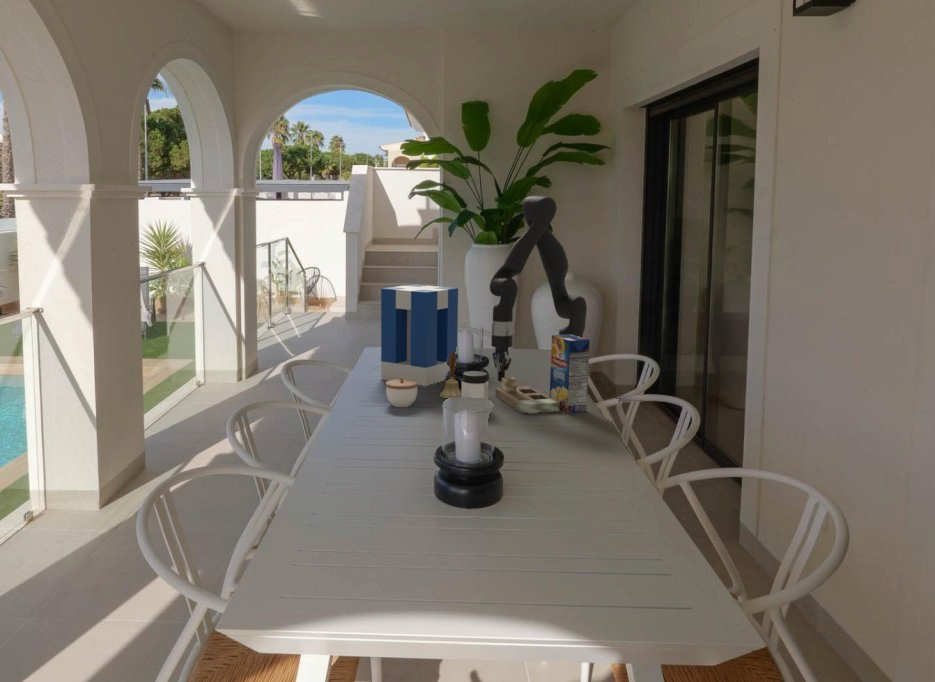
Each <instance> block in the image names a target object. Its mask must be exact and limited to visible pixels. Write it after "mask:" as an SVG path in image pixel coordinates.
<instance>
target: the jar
mask: <svg viewBox="0 0 935 682" xmlns="http://www.w3.org/2000/svg"><path fill="white" fill-rule="evenodd" d="M488 379H489V377H488V373H487V372H485V371H481V370H479V371H478V370H470V371H464V372H463V373H462V381H461V391H460V392H461V397H472V398H484V399H488V400H489V380H488Z"/></svg>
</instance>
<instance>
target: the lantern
mask: <svg viewBox="0 0 935 682" xmlns="http://www.w3.org/2000/svg"><path fill="white" fill-rule="evenodd" d="M380 290H381V291H380V305H381V306H380V309H381V310H380V315H381V316H380V324H381V325H380V332H381V333H380V339H381V341H380V346H381V347H380V379H381V380H383V381H390V380H396V379H400V378H403V379H407V380H414V381H416V382H418V386H420V385H422V386H421V387H428V386H427V385H429V386H431V385H430V384H432V385H435V384H438V383H437V382H439V383H441V381H442V382H445V381H446V380H445V376H446V373H447V372H448V370H449V369H450V367H449V366H448V365H447V362H446V361H447V359H448V358H449V356H450V354H451V352H456V347H457V348H458V328H459V327H458V326H459V325H458V323H459V322H458V321H459V320H458V319H459V317H458V316H459V315H458V314H459V288H458V287H449V286H436V285H425V284H424V285H423V284H407V285H398V286H392V287H390V286H389V287H382V288H380ZM444 380H445V381H444ZM434 383H435V384H434Z"/></svg>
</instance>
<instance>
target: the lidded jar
mask: <svg viewBox="0 0 935 682" xmlns="http://www.w3.org/2000/svg"><path fill="white" fill-rule="evenodd" d="M418 386H419V385H418V382H416V381H414V380H407V379H403V378H400V379H396V380H386V382H385V392H386V398H387V399H388V401H389V402H390V404H391V405H392V406H393V407H395V408H409V407H411V405H412V404H413V403H414V402H415V401H416V398H417V396H418V390H419V389H418ZM408 406H409V407H408Z"/></svg>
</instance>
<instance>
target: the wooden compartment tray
mask: <svg viewBox="0 0 935 682" xmlns="http://www.w3.org/2000/svg"><path fill="white" fill-rule="evenodd" d="M494 394H495V398H497V397H498V398H497V399H499V400H500V399H501V400H500V401H502V400H503V401H504V403H505V402H506V403H505V404H507V403H508V404H509V405H508V404H507V405H508V406H510V405H511V406H512V407H511V406H510V407H511V408H513V407H514V408H515V409H514V408H513V409H514V410H516V409H517V410H518V411H517V410H516V411H517V412H519V411H520V412H521V414H522V413H528V414H540V413H539V412H542V413H553V412H554V411H556V412H560V410H559V402H558V401H556V400H554V399H552V398H550V395H549V396H548V395H547V394H545V393H543V392H541V391H539V390H538V389H536V388H534V387H532V386H530V385H525V386H523V385H522V386H517V388H516V391H504V390H502V387H495V393H494ZM503 401H502V402H503ZM520 412H519V413H520Z"/></svg>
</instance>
